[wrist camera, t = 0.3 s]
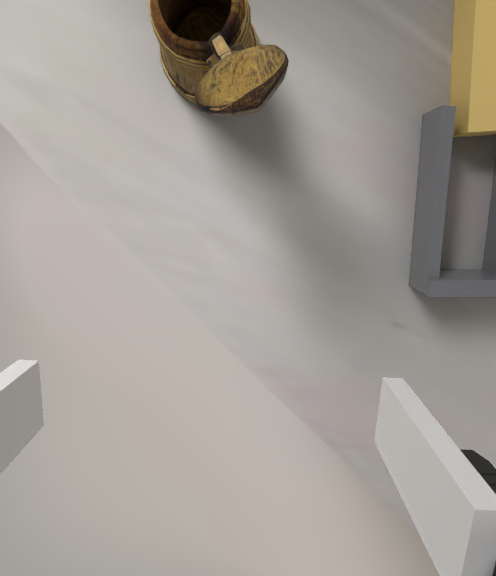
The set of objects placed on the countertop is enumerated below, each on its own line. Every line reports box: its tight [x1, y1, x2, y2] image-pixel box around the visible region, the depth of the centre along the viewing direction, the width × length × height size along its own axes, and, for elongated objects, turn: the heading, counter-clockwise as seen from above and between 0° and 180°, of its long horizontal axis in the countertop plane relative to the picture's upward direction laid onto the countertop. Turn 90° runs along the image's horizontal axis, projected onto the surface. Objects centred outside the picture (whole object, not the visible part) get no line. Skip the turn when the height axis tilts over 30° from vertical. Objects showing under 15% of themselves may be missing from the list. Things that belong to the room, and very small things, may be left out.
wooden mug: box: [149, 0, 289, 116], centre depth 29 cm, size 9×14×18 cm, turn 28°
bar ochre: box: [449, 0, 496, 137], centre depth 36 cm, size 12×4×4 cm, turn 4°
